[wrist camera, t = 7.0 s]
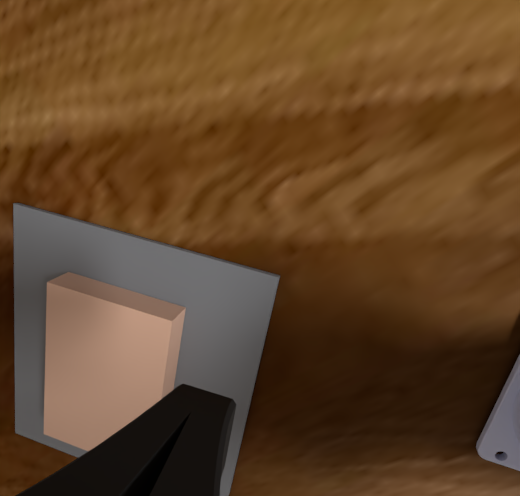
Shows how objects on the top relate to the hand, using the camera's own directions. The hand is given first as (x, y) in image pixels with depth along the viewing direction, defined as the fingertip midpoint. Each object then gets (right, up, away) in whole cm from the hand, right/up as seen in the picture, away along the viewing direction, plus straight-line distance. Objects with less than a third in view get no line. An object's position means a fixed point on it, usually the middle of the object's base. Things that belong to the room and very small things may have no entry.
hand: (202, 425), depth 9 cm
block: (-4, -4, +12) cm, 13 cm away
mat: (-6, -3, +14) cm, 15 cm away
